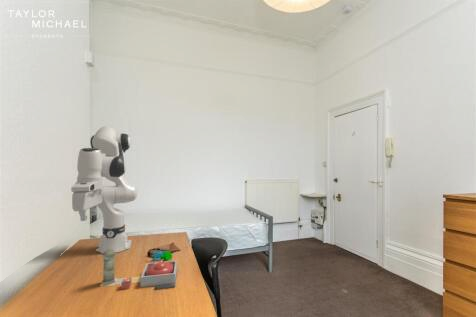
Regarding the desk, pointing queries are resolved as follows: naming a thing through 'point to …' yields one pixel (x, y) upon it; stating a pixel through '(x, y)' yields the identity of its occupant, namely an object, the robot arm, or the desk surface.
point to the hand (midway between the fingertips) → (88, 218)
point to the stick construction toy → (162, 255)
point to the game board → (150, 279)
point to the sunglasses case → (163, 249)
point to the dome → (160, 268)
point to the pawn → (108, 267)
